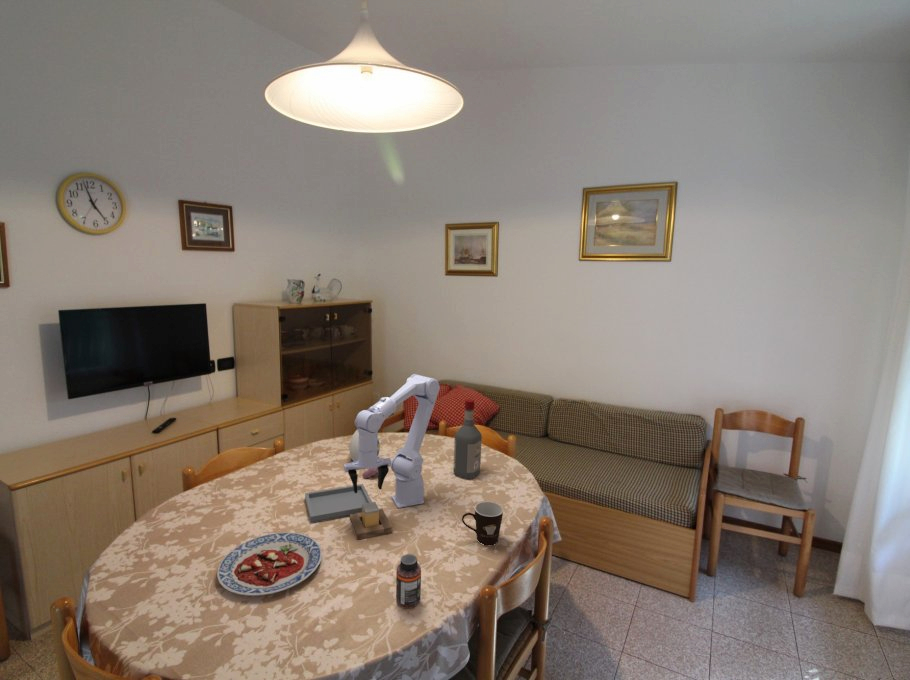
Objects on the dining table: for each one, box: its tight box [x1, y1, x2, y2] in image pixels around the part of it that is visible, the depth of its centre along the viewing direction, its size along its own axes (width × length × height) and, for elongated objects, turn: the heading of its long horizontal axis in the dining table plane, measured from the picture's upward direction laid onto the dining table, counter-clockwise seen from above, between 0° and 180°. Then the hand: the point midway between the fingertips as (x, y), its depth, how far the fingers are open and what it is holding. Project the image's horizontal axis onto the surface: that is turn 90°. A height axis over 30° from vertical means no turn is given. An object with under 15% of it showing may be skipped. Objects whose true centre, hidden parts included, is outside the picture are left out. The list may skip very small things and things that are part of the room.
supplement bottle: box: [395, 553, 422, 609], centre depth 111 cm, size 6×6×11 cm
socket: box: [349, 508, 393, 541], centre depth 143 cm, size 11×12×2 cm
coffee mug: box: [461, 500, 504, 546], centre depth 138 cm, size 12×9×10 cm
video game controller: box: [361, 467, 378, 479], centre depth 179 cm, size 10×5×7 cm, turn 169°
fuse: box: [361, 501, 380, 528], centre depth 143 cm, size 4×5×6 cm
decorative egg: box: [348, 428, 381, 462], centre depth 189 cm, size 12×12×15 cm
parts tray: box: [304, 483, 373, 524], centre depth 155 cm, size 20×16×2 cm
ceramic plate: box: [216, 532, 323, 597], centre depth 122 cm, size 26×26×3 cm
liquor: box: [453, 398, 482, 480], centre depth 179 cm, size 9×9×30 cm
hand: (367, 489), depth 145 cm, fingers open, 7 cm apart
